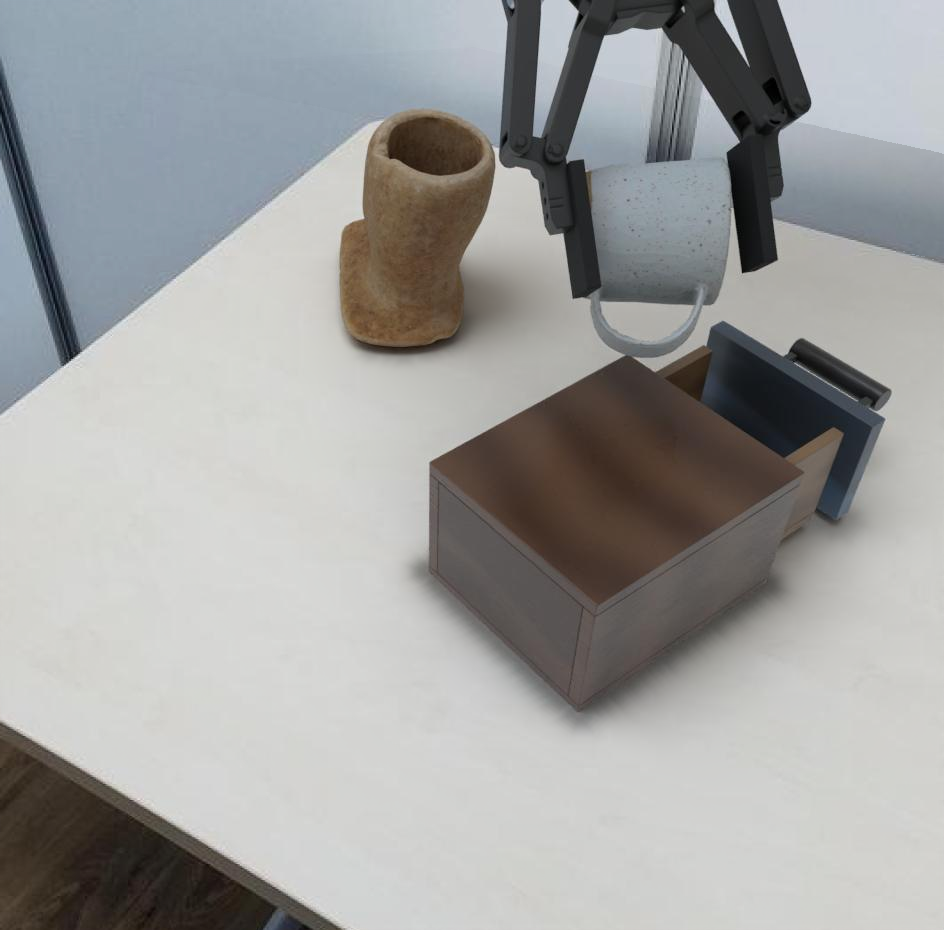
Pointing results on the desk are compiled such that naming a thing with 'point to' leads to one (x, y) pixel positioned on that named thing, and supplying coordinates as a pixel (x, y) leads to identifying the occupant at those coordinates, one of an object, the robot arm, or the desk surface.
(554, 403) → the cabinet
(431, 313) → the stone cup
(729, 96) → the robot arm
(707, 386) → the drawer
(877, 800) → the desk surface
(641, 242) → the ceramic mug
